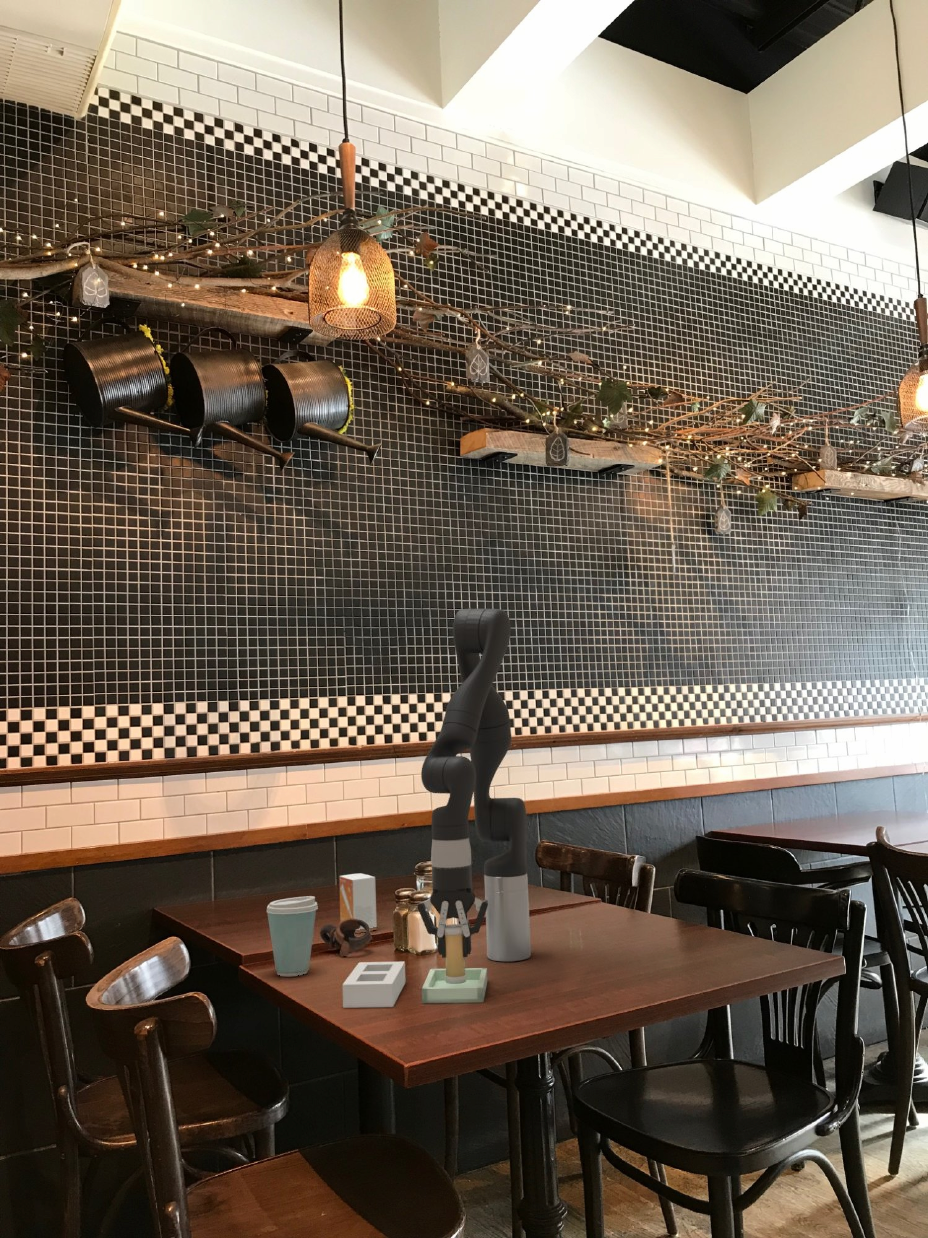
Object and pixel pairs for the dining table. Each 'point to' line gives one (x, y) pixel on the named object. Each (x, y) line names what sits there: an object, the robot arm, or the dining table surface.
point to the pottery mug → (346, 935)
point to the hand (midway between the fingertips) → (454, 956)
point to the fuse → (454, 954)
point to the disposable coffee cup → (292, 933)
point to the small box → (358, 898)
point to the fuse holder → (374, 984)
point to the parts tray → (455, 987)
